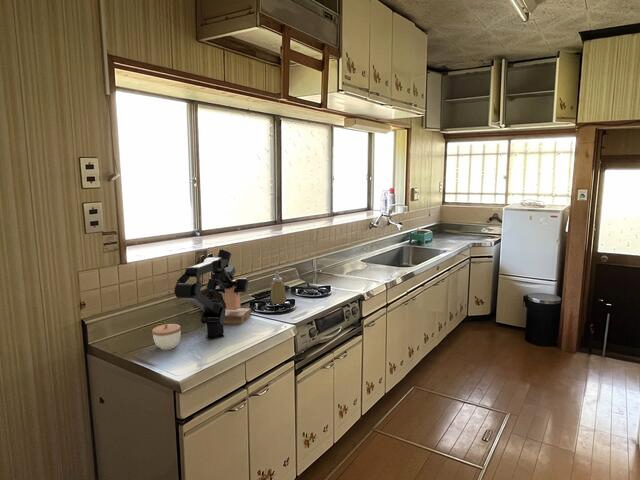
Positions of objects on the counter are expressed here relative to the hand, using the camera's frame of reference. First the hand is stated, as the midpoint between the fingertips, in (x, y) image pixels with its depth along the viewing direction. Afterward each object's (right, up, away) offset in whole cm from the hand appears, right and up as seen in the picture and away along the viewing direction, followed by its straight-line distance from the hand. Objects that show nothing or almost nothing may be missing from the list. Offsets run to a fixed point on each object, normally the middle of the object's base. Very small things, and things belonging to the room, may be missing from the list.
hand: (233, 293), depth 204 cm
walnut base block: (0, -13, +1) cm, 13 cm away
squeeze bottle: (+19, -9, +20) cm, 29 cm away
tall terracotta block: (0, -7, 0) cm, 7 cm away
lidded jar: (-20, -18, -30) cm, 40 cm away
